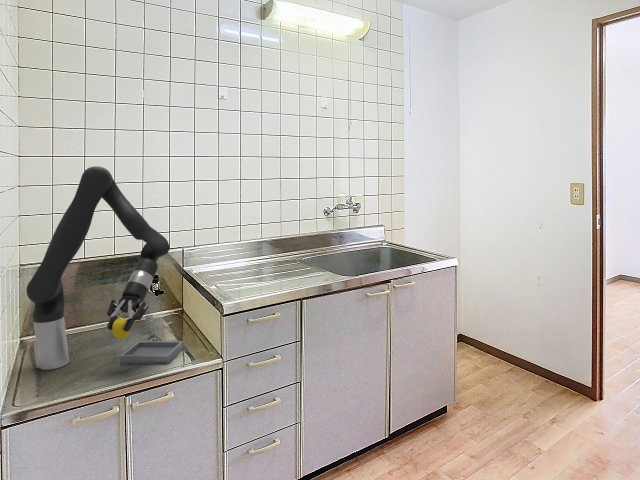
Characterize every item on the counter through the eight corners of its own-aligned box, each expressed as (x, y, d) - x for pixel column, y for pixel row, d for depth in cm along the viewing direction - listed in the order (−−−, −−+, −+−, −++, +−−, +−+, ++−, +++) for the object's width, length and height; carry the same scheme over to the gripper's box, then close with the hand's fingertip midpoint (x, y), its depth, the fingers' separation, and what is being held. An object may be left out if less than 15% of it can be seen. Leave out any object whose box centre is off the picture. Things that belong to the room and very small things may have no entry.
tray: (119, 364, 152) (119, 356, 151) (139, 348, 166) (138, 341, 165) (168, 364, 150) (167, 356, 150) (183, 348, 164) (183, 341, 164)
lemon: (124, 343, 140) (122, 320, 138) (109, 342, 141) (107, 319, 140) (134, 337, 145) (132, 315, 144) (120, 336, 146) (118, 314, 145)
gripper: (115, 279, 149) (92, 323, 139) (150, 281, 146) (130, 326, 136) (126, 290, 155) (105, 333, 145) (161, 292, 151) (141, 336, 142)
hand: (117, 329), depth 140 cm, fingers closed on lemon, 5 cm apart
